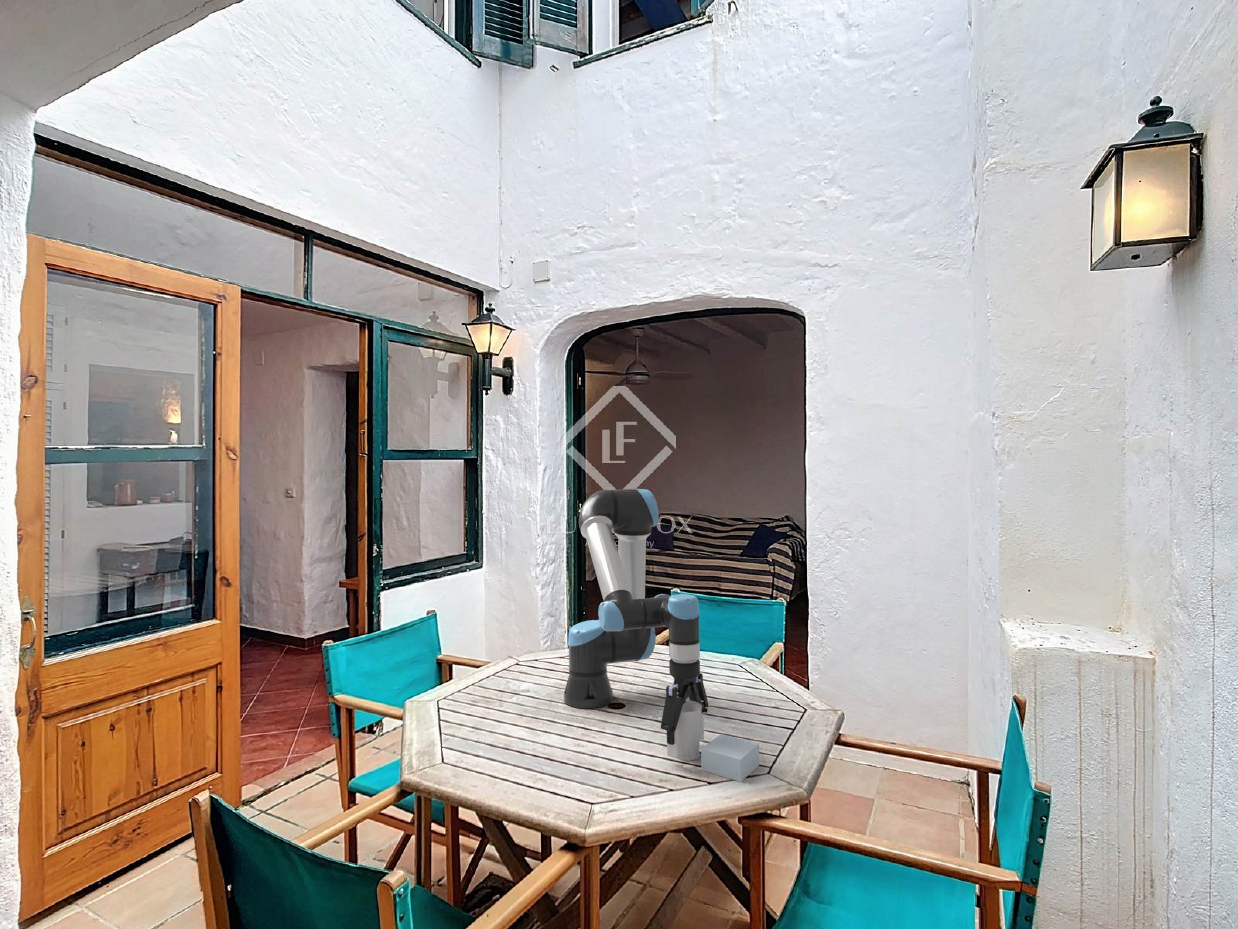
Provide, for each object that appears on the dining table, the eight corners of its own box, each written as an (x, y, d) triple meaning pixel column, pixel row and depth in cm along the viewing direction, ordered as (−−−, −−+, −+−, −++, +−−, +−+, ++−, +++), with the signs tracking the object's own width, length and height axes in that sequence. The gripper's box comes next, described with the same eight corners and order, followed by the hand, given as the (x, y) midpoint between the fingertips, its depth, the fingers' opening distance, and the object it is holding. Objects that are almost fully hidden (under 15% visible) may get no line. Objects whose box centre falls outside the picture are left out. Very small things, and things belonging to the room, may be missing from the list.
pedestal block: (721, 754, 157) (720, 734, 157) (759, 765, 151) (758, 743, 151) (701, 770, 149) (701, 748, 149) (740, 782, 143) (740, 759, 143)
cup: (664, 751, 160) (663, 703, 160) (693, 745, 162) (692, 698, 163) (678, 764, 152) (677, 714, 152) (708, 758, 155) (707, 709, 155)
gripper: (695, 645, 169) (696, 727, 169) (644, 669, 150) (646, 761, 150) (720, 649, 165) (722, 734, 165) (671, 674, 146) (673, 770, 145)
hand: (686, 747), depth 157 cm, fingers open, 12 cm apart
